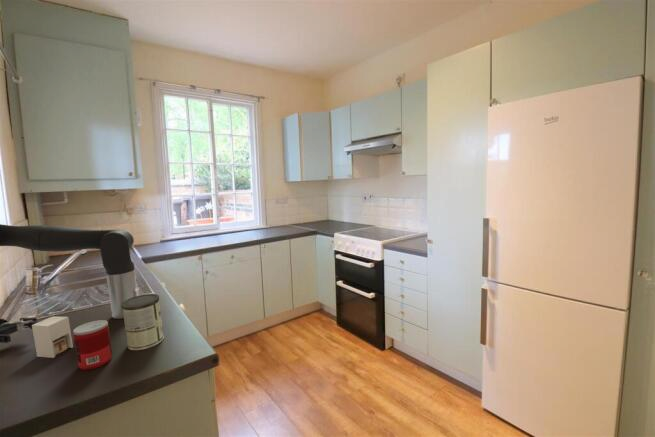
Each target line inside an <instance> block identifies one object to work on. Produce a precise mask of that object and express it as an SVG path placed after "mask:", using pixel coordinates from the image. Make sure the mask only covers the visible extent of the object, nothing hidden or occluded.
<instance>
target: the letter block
mask: <svg viewBox="0 0 655 437" xmlns="http://www.w3.org/2000/svg"><path fill="white" fill-rule="evenodd" d="M53 346H54V352H55V356H57V355H59V354H60V353H62V352H65V351H66V350H67V349H68V348H67V343H66V337H60V338H58V339H56V340H54V341H53Z"/></svg>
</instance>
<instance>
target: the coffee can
mask: <svg viewBox="0 0 655 437" xmlns="http://www.w3.org/2000/svg"><path fill="white" fill-rule="evenodd" d="M160 305H161V304H160V295H158V294H155V293H148V294H147V293H146V294H139V296H136V297H132V298H130V299H127V300H125V301H124V302H122V304H121V306H122V310H123V317H124V318H123V323H124V330H125V337H126V343H127V349H128V350H130V351H141V350H147V349H150V348H152V347H155V346H157V345H159V344H160V343H161V342H163V340H164V338H165V336H164V329H163V321H162V314H161V306H160Z"/></svg>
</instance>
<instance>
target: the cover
mask: <svg viewBox="0 0 655 437" xmlns="http://www.w3.org/2000/svg"><path fill="white" fill-rule="evenodd" d="M69 319H70V318H69V316H55V315H53V316H50V317H48V318H45V319H43V320H40V321H37V322H38V323H36V324H33V325H32V329H31V330H32V334H33V340H34V341H33V342H34V346H35V351H36V356H37V357H38V358H39V357H40V358H52V359H53V358H55V357H56V355H55V352H54V346H53V341H54V340H56V339H58V338H60V337H66V343H67V349H69V348H70V349H71V348H74V345H73V338H72V332H71V324H70V320H69Z"/></svg>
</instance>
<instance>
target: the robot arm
mask: <svg viewBox="0 0 655 437" xmlns="http://www.w3.org/2000/svg"><path fill="white" fill-rule="evenodd" d="M134 242H135V240H134V236H133V235H132V234H131V233H130V232H129V231H127V230H124V229H85V228H78V227H69V226H61V225H60V226H58V225H8V224H0V247H17V248H18V247H19V248H22V249H26V250H32V251H40V252H55V253H56V252H57V253H58V252H70V251H71V252H72V251H78V250H79V251H81V250H99V251H100V256H101V261H102V266H103V268H104V270H105V273H106V280H107V281H106V282H107V288H108V295H109V296H108V297H109V302H110V309H111V317H112V318H113V319H118V320H119V319H124V317H123V310H122V306H121V304H122V302H124V301H125V300H127V299H130V298H132V297H136V296H140V293H139V292H140V291H139V286H138V285H137V277H136V270H135V269H136V268H135V263H134V262H133V260H132V258H131V252H130V251H131V250H130V249H131V248H132V247H133V245H134ZM38 322H39V321H38V318H37V317H21V318H19V320H16V321H8V320H7V319H6V318H2V317H0V343H3V344H4V343H5V344H8V343H10V342H11V341H12V338H11V335H13V334H16V333H17V334H18V333H22V332H24V331H25V330H33V329H32V325H33V324H36V323H38ZM18 326H19V329H18Z"/></svg>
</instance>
